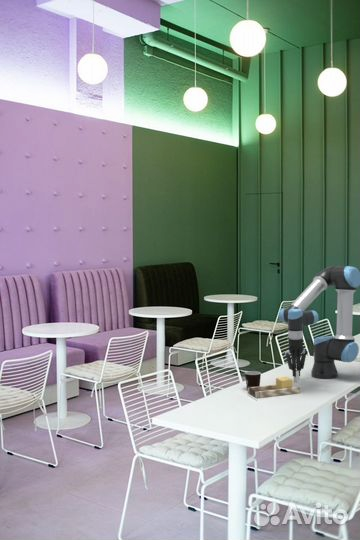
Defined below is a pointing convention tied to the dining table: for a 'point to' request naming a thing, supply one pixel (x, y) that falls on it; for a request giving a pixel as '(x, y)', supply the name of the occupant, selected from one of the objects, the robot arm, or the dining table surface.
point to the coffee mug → (252, 379)
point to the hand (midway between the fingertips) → (296, 382)
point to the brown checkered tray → (271, 391)
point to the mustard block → (283, 383)
